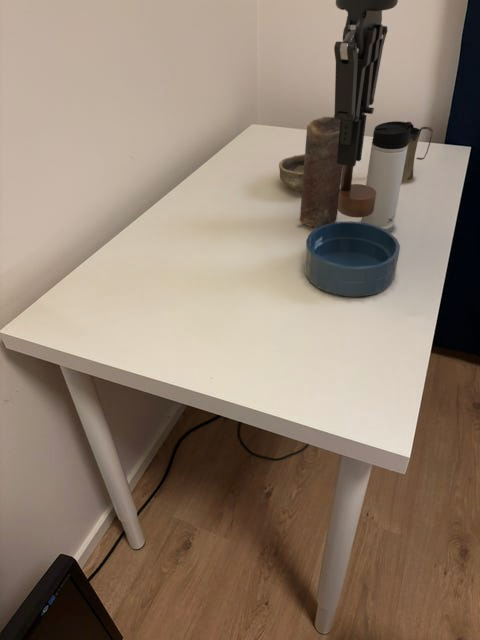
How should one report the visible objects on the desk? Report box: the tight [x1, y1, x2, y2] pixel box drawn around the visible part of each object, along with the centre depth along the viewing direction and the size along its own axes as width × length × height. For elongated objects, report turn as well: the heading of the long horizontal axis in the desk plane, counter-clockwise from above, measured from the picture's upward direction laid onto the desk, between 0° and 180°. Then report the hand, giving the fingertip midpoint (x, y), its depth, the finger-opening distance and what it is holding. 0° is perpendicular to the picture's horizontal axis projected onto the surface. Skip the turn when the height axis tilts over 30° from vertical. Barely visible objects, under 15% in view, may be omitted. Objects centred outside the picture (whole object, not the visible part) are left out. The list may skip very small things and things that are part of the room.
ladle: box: [337, 96, 376, 219], centre depth 71 cm, size 6×6×18 cm
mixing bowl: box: [304, 220, 401, 298], centre depth 83 cm, size 15×15×6 cm
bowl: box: [278, 153, 305, 192], centre depth 110 cm, size 14×18×10 cm
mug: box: [401, 126, 434, 184], centre depth 110 cm, size 8×6×12 cm
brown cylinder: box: [299, 116, 343, 229], centre depth 92 cm, size 8×7×20 cm
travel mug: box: [360, 120, 414, 233], centre depth 90 cm, size 6×7×20 cm
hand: (348, 161), depth 73 cm, fingers closed on ladle, 2 cm apart
